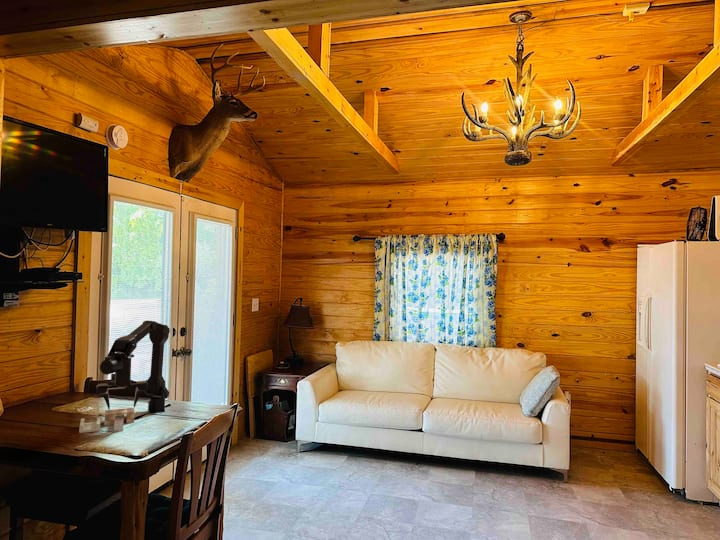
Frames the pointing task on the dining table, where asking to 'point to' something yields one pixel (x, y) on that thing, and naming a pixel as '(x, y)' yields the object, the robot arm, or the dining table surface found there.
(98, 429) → the cradle
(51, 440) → the dining table surface
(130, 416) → the tan u-shaped block
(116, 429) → the pinkish brown square bar
